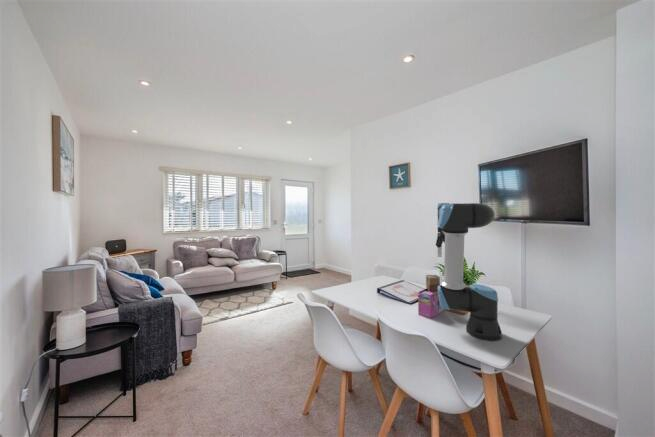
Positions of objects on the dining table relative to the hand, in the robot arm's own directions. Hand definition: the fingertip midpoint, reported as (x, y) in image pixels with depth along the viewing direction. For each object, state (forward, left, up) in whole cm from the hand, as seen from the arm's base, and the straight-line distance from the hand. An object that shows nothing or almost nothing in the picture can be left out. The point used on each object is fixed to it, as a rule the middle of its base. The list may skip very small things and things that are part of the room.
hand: (443, 258), depth 176 cm
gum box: (-15, +13, -29) cm, 36 cm away
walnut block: (-15, +13, -16) cm, 25 cm away
